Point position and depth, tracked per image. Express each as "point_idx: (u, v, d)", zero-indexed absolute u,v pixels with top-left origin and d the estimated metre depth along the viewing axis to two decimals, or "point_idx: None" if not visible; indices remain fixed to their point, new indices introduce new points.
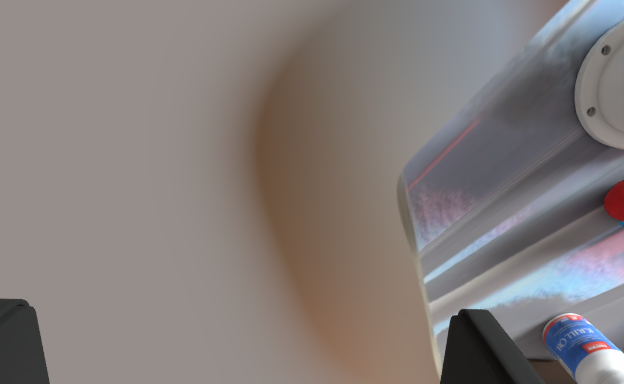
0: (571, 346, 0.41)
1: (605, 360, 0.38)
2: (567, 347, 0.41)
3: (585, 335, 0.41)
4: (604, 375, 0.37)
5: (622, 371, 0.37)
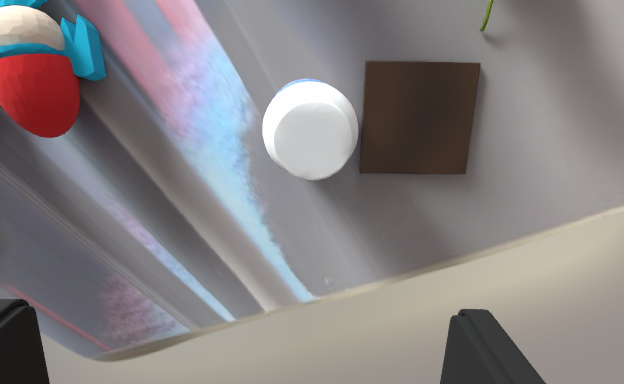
0: None
1: (271, 151, 0.21)
2: None
3: None
4: None
5: None
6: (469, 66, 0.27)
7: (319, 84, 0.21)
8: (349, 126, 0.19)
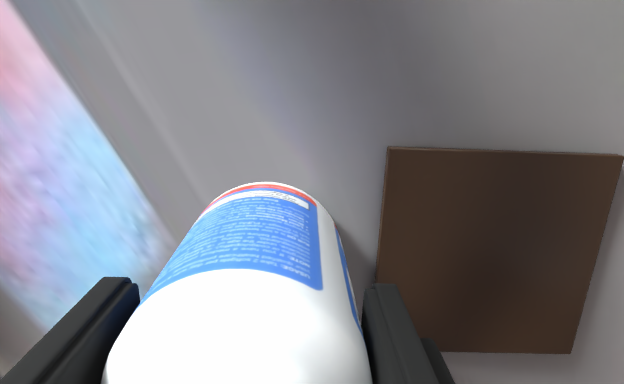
0: None
1: None
2: None
3: None
4: None
5: None
6: (600, 161, 0.13)
7: (258, 295, 0.07)
8: None
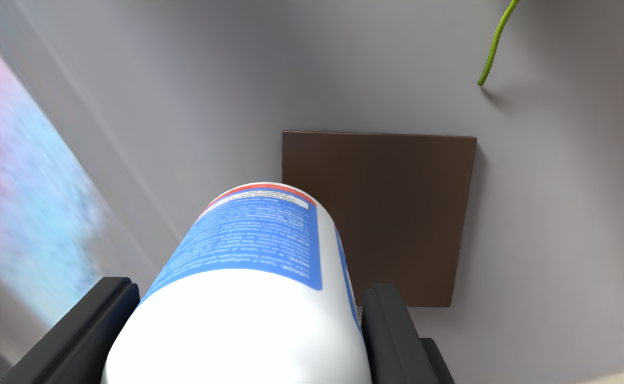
0: None
1: None
2: None
3: None
4: None
5: None
6: (458, 142, 0.16)
7: (258, 295, 0.07)
8: None
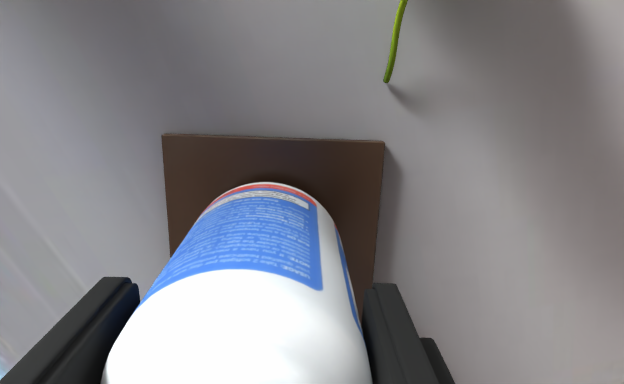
0: None
1: None
2: None
3: None
4: None
5: None
6: (363, 147, 0.14)
7: (258, 295, 0.07)
8: None
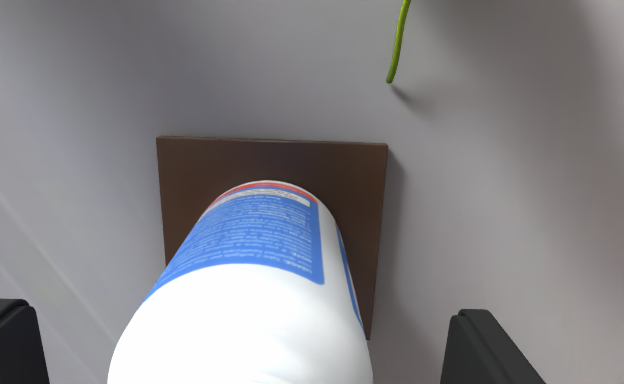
0: None
1: None
2: None
3: None
4: None
5: None
6: (365, 150, 0.14)
7: (262, 288, 0.07)
8: None
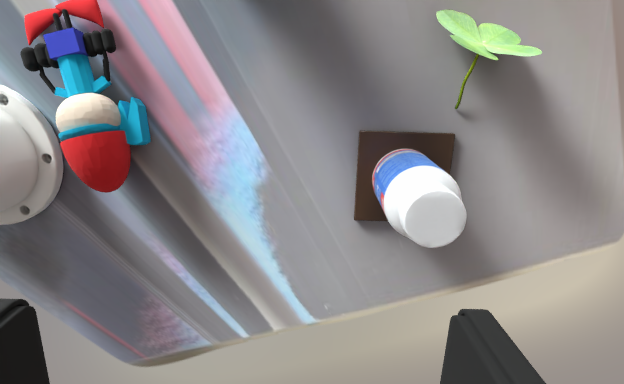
0: None
1: (392, 219, 0.27)
2: None
3: (379, 202, 0.30)
4: None
5: (399, 215, 0.26)
6: (445, 136, 0.33)
7: (434, 169, 0.26)
8: (464, 209, 0.24)
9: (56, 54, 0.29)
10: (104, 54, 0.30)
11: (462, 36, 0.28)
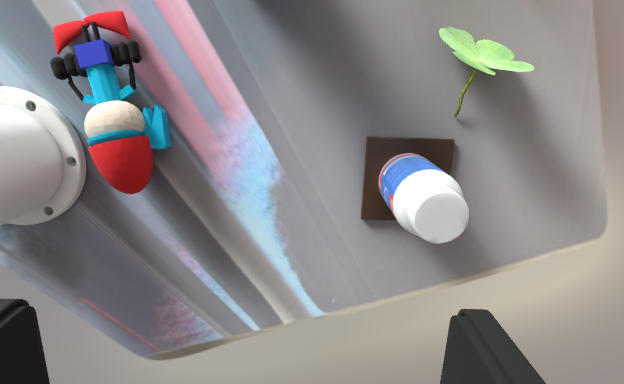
0: None
1: (401, 218, 0.30)
2: None
3: (387, 202, 0.33)
4: None
5: (408, 214, 0.29)
6: (445, 142, 0.36)
7: (439, 173, 0.29)
8: (467, 208, 0.27)
9: (86, 64, 0.31)
10: (130, 64, 0.32)
11: (462, 52, 0.31)
